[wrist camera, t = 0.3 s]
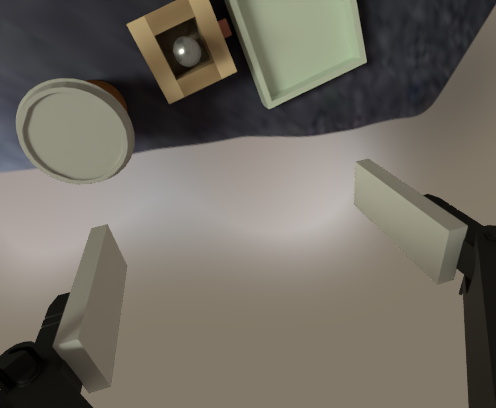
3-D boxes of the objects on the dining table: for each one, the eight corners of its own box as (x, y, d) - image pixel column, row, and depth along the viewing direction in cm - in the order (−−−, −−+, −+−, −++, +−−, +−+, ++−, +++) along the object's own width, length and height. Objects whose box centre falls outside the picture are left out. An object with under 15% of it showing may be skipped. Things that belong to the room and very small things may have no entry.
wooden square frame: (130, 24, 33) (126, 24, 30) (210, -15, 33) (215, -19, 30) (168, 97, 37) (169, 104, 34) (239, 62, 37) (247, 66, 34)
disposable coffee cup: (140, 149, 41) (133, 191, 31) (57, 143, 38) (19, 186, 28) (142, 71, 37) (133, 89, 27) (48, 57, 34) (-1, 71, 24)
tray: (220, -10, 35) (224, -13, 32) (331, -64, 35) (344, -71, 32) (262, 104, 42) (268, 109, 39) (355, 60, 42) (366, 62, 39)
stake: (138, 27, 35) (131, 28, 27) (196, -1, 35) (205, -8, 27) (170, 88, 38) (171, 105, 31) (222, 63, 38) (237, 73, 31)
